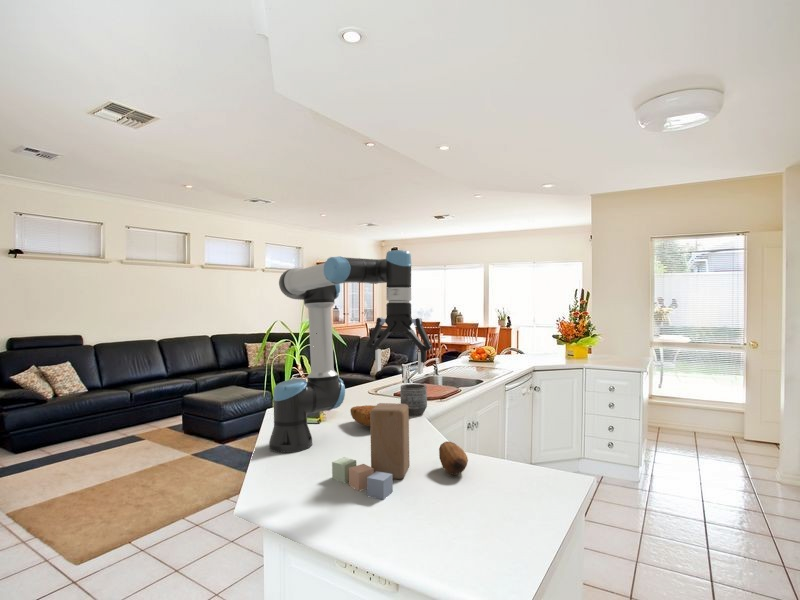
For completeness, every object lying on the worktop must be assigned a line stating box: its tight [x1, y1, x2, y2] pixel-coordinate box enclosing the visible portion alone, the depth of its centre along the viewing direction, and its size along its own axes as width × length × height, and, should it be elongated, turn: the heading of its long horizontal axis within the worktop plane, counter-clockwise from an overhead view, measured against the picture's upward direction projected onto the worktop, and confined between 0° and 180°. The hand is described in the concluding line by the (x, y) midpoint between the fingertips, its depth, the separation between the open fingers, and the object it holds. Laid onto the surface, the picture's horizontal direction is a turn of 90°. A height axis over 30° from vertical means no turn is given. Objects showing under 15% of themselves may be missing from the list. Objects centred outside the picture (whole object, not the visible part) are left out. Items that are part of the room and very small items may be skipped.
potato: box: [438, 441, 469, 476], centre depth 134 cm, size 8×14×8 cm
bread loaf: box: [349, 404, 376, 427], centre depth 187 cm, size 22×17×8 cm
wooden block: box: [369, 402, 411, 480], centre depth 134 cm, size 10×10×20 cm
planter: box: [400, 383, 428, 417], centre depth 205 cm, size 12×12×13 cm
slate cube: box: [366, 471, 394, 500], centre depth 119 cm, size 5×5×5 cm
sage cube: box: [331, 456, 357, 483], centre depth 130 cm, size 5×5×5 cm
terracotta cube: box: [348, 463, 374, 492], centre depth 125 cm, size 5×5×5 cm
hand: (399, 372), depth 135 cm, fingers open, 13 cm apart
